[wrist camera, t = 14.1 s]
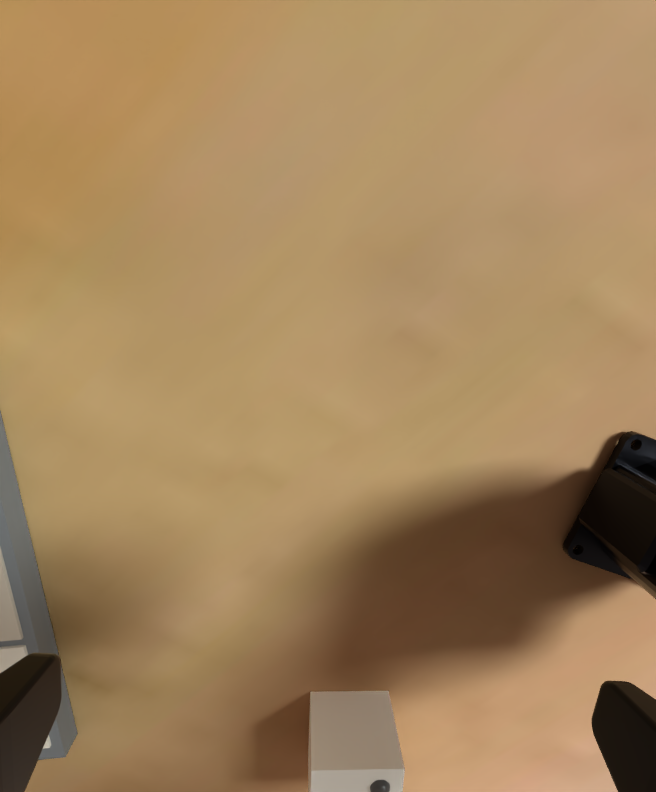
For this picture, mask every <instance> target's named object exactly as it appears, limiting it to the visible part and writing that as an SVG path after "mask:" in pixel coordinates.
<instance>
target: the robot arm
mask: <svg viewBox="0 0 656 792" xmlns="http://www.w3.org/2000/svg"><path fill="white" fill-rule="evenodd" d="M633 440H636V442H635V444H634V445H633V446H632V447H631V443H632V442H633ZM577 545H578V547H577V549H575V550H573V548H574V547H575V546H577ZM563 549H564V551H565V552H566V553H567V554H568V555H569V556H570V557H571V558H572V559H575V560H578V561H581V562H584V563H587V564H589V565H592V566H595V567H598V568H601V569H604V570H607V571H610V572H613V573H616V574H619V575H621V576H624V577H627V578H630V579H633V580H635V581H636V582H637V583H638V584H639V585H640V586H641V587H643V588H644V589H645V590H646V591H647V592H648V593H649V594H650V595H652V596H653V597H654V598H655V599H656V440H655V439H652V438H650V437H647V436H645V435H642V434H639V433H637V432H633V431H631V432H627V433H625V434H624V435H623V436H622V437H621V439H620V440H619V442H618V444H617V446H616V448H615V450H614V451H613V453H612V455H611V457H610V459H609V461H608V462H607V464H606V466H605V468H604V470H603V472H602V473H601V475H600V477H599V479H598V481H597V483H596V484H595V486H594V488H593V490H592V492H591V494H590V496H589V497H588V499H587V501H586V503H585V505H584V507H583V508H582V510H581V512H580V514H579V516H578V518H577V519H576V521H575V523H574V525H573V527H572V529H571V530H570V532H569V534H568V536H567V538H566V540H565V542H564V544H563ZM61 698H62V686H61V660H60V657H59V656H58V655H57V654H54V653H31V654H29V655H27V656H25V657H24V658H22V659H21V660H19V661H18V662H16V663H15V664H13V665H12V666H10V667H9V668H7V669H6V670H4V671H3V672H1V673H0V792H24V791H25V789H26V787H27V784H28V782H29V780H30V777H31V775H32V773H33V770H34V768H35V766H36V763H37V761H38V759H39V756H40V754H41V752H42V749H43V747H44V745H45V742H46V740H47V738H48V735H49V733H50V731H51V728H52V726H53V724H54V721H55V719H56V717H57V714H58V711H59V708H60V704H61ZM592 729H593V733H594V736H595V739H596V741H597V744H598V746H599V748H600V751H601V753H602V755H603V758H604V760H605V762H606V765H607V767H608V769H609V772H610V774H611V776H612V779H613V781H614V783H615V786H616V788H617V790H618V792H656V700H655V699H654V698H653V697H651V696H650V695H648V694H647V693H645V692H644V691H642V690H641V689H639V688H638V687H636V686H635V685H633V684H632V683H629V682H625V681H605V682H604V683H603V684H602V685H601V688H600V691H599V695H598V698H597V702H596V705H595V709H594V712H593V716H592Z"/></svg>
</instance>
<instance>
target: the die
mask: <svg viewBox="0 0 656 792" xmlns="http://www.w3.org/2000/svg"><path fill="white" fill-rule="evenodd" d="M404 771H405V768H404V763H403V758H402V753H401V749H400V744H399V739H398V734H397V729H396V724H395V719H394V715H393V710H392V705H391V700H390V695H389V691H320V692H310V716H309V743H308V792H403V781H404Z"/></svg>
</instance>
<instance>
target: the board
mask: <svg viewBox="0 0 656 792" xmlns="http://www.w3.org/2000/svg"><path fill="white" fill-rule="evenodd" d="M31 653H54V654H57V655H58V656H59V654H58V650H57V646H56V641H55V637H54V633H53V629H52V625H51V621H50V616H49V612H48V608H47V604H46V600H45V596H44V591H43V587H42V583H41V579H40V575H39V571H38V566H37V562H36V558H35V554H34V550H33V546H32V541H31V537H30V533H29V529H28V525H27V520H26V516H25V512H24V508H23V504H22V500H21V495H20V491H19V487H18V483H17V479H16V475H15V470H14V466H13V462H12V458H11V454H10V450H9V445H8V441H7V437H6V433H5V429H4V425H3V420H2V416H1V412H0V673H1V672H3V671H4V670H6V669H7V668H9V667H10V666H12V665H13V664H15V663H16V662H18V661H19V660H21V659H22V658H24V657H25V656H27V655H29V654H31ZM61 686H62V698H61V704H60V708H59V711H58V714H57V717H56V719H55V721H54V724H53V726H52V728H51V731H50V733H49V735H48V738H47V740H46V742H45V745H44V747H43V749H42V752H41V754H40V756H39V759H38V760H42V759H51V758H61V757H66V755H67V753H68V751H69V749H70V747H71V745H72V743H73V741H74V739H75V737H76V735H77V734H78V733H77V729H76V725H75V721H74V717H73V712H72V708H71V704H70V700H69V696H68V691H67V687H66V683H65V679H64V675H63V671H62V666H61Z"/></svg>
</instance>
